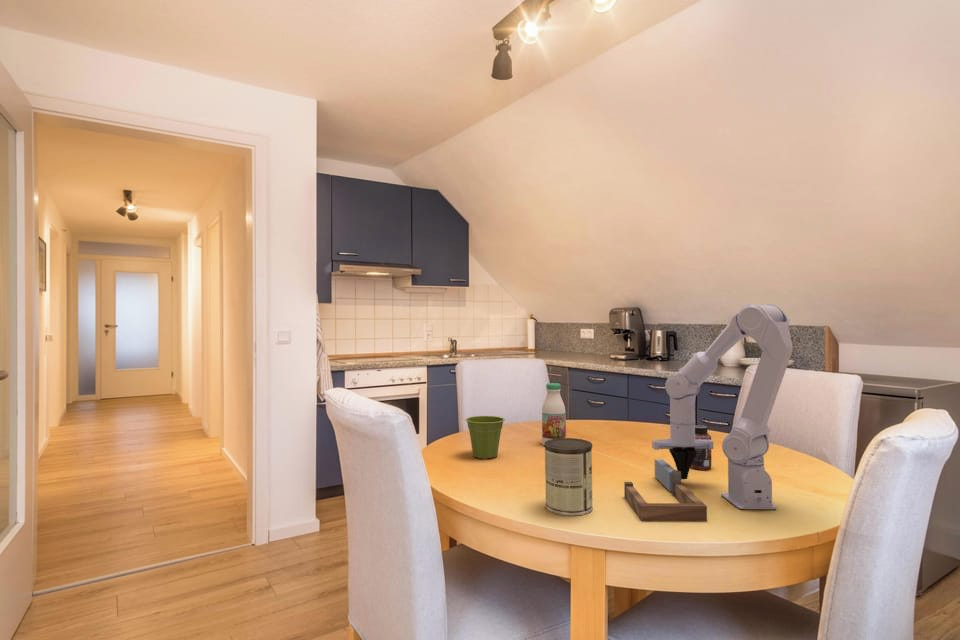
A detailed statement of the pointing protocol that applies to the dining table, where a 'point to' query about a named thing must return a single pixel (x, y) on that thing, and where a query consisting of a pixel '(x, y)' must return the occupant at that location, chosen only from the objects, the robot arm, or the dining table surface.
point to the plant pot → (485, 435)
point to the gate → (663, 473)
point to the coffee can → (568, 476)
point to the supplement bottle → (702, 450)
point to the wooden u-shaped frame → (668, 504)
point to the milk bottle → (553, 414)
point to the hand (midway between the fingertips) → (682, 478)
